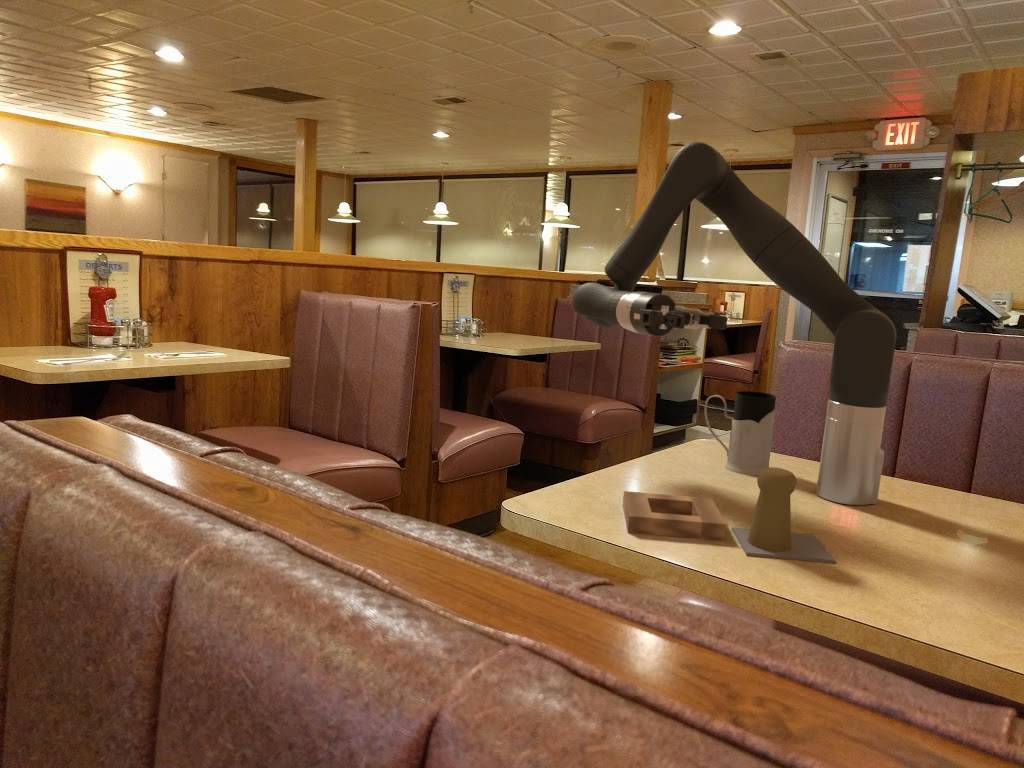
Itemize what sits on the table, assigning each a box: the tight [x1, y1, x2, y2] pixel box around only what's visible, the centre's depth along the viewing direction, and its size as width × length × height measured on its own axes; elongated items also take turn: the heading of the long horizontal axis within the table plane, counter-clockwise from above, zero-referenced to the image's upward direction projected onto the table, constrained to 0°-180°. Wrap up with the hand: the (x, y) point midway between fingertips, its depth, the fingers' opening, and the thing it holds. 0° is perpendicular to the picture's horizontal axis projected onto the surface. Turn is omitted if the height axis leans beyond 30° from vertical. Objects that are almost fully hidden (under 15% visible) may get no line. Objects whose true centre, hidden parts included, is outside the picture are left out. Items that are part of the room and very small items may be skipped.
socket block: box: [622, 490, 727, 542], centre depth 116 cm, size 14×12×2 cm
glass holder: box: [704, 390, 777, 476], centre depth 150 cm, size 9×14×15 cm, turn 57°
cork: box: [747, 466, 797, 552], centre depth 107 cm, size 6×6×11 cm
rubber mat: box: [731, 526, 837, 564], centre depth 109 cm, size 12×10×1 cm
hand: (704, 322), depth 122 cm, fingers open, 8 cm apart
